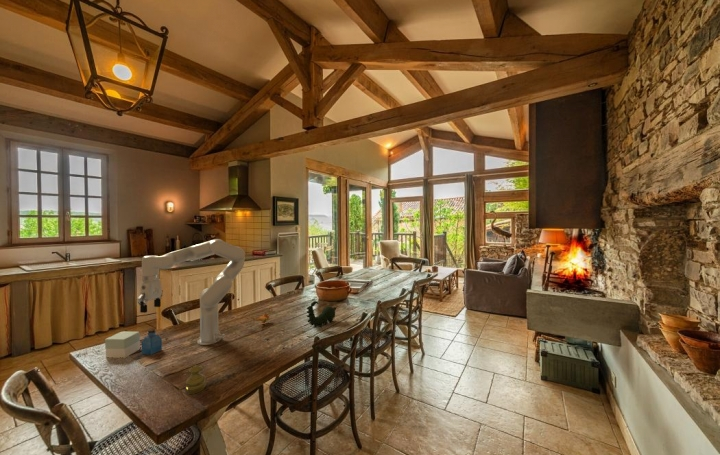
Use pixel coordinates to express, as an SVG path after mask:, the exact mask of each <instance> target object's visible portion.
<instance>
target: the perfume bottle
mask: <svg viewBox="0 0 720 455" xmlns="http://www.w3.org/2000/svg"><path fill="white" fill-rule="evenodd" d="M156 333H157V332H156V328H150V329H148V330H147V336H145V337H144V338H143V340H142V341H141V355H150V356H152V355H153V354H157V353H158V352H159V351H162V349H163V348H162V346H163V345H162V344H163V343H162V341H163V340H162V337H161V336H160V335H159V334H156Z"/></svg>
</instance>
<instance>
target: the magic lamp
mask: <svg viewBox="0 0 720 455" xmlns="http://www.w3.org/2000/svg"><path fill="white" fill-rule="evenodd" d="M268 309H269V310H268V313H266V312H264V313H263V315H262V316H259V317H251V319H253V320H256V321H258V322H261V323H265V322H268V321H269V320H270V315H271V314H272V313H273V308H272V305H270V306H269V308H268ZM270 311H271V312H270Z"/></svg>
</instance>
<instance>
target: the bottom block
mask: <svg viewBox="0 0 720 455" xmlns="http://www.w3.org/2000/svg"><path fill="white" fill-rule="evenodd" d="M140 349H141V340H140V341H138V342H136V343H134V344H132V345H130V346H129V347H127V348H125V349H105V358H106V357H113V358H114V359H115V358H117V359H118V358H119V359H120V357H121V359H123V358H124V359H125V358H127V357H129V356H130V355H132V354H134V353H136V352H137V351H139V350H140ZM122 357H123V358H122Z"/></svg>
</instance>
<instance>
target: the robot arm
mask: <svg viewBox="0 0 720 455" xmlns="http://www.w3.org/2000/svg"><path fill="white" fill-rule="evenodd" d="M213 255H217V256H218V257H221V258H225V259H227V260H229V262H228V263H227V265H226V266H225V267H224V268H223V270H222V271H220V272H219V273H218V275H217V276H216V277H215V278H214V280H213V283H212V284H211V285H210V287H207V288H204V289H203V290H201V292H200V294H199V322H200V323H199V327H200V328H199V329H200V331H199V339H197V340H196V342H197V345H199V346H200V345H201V346H208V345H213V344H216V343H218V342H221V340H224V339H225V333H221V331H220V330H219V303H220V302H221V301H222V300H223V298H224V297H225V296H226V295H227V293H229V292H230V290H231V289H232V287H233V282H234V279H236V277H237V276H239V273H241V271H242V270H243V268H244V266H245V261H246V260H245V256H246V252H245V250H244V249H243V248H242V247H241V246H238V245H233V244H231V243H229V242H226V241H224V240H223V239H220V238H214V239H211V240H208V241H204V242H201V243H198V244H195V245H191V246H188V247H185V248H182V249H178V250H174V251H171V252H168V253H165V254H163V255H160V256H158V255H155V254H154V255H152V254H151V255H144V256H143V257H142V258H141V285H140V291H139V292H140V294H139V296H138V297H136V301H137V304H138V305H139V306H140V308H139V310H140V311H139V312H140V313H141V314H143V313H144V314H145V313H146V314H147V313H148V304H147V303H148V301H149V302H150V301H153V300H154V301H153V305H154V306H153V307H154V308H160V307H161V299H162V297H163V293H164V289H163V290H162V283H161V279H160V269H161V270H162V269H163V270H168V269H169V270H170V269H172V268H173V267H174V266H175V265H178V264H181V263H184V262H188V261H197V260H200V259H201V260H202V259H204V258H206V257H209V256H210V257H211V256H213Z"/></svg>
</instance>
